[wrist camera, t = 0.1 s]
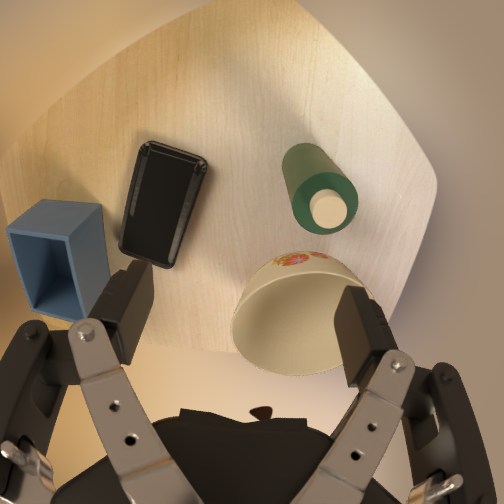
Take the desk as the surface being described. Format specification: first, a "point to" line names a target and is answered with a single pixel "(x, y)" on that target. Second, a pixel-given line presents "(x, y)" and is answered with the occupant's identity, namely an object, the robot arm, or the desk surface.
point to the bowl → (292, 314)
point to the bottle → (318, 190)
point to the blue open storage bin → (61, 257)
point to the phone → (160, 203)
